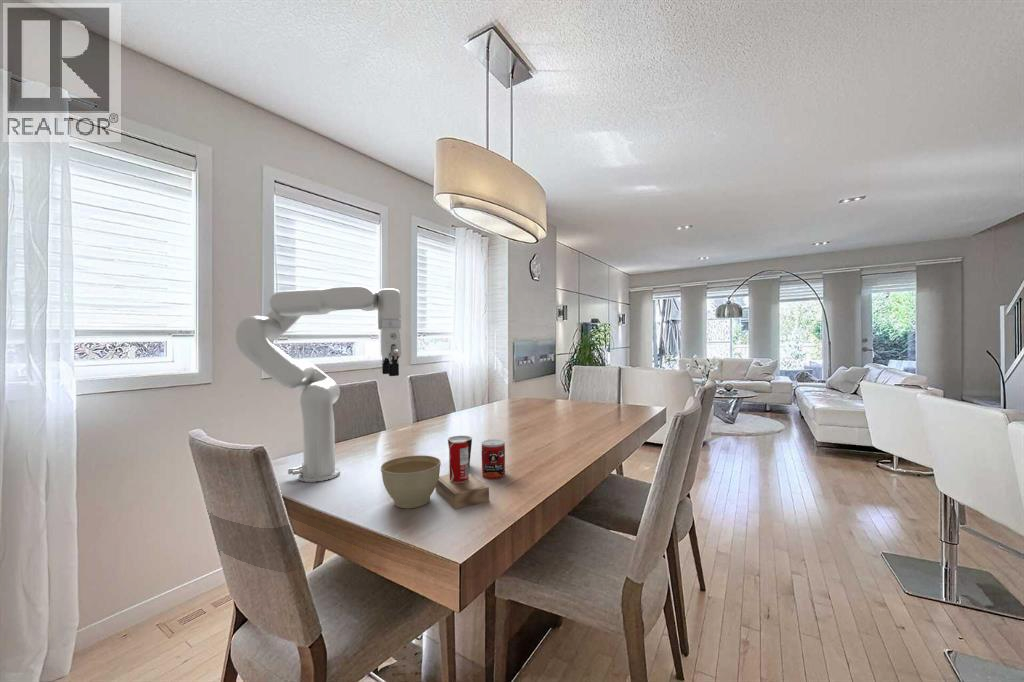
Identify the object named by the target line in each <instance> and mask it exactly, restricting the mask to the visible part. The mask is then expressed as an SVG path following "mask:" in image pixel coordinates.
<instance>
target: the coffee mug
mask: <svg viewBox="0 0 1024 682" xmlns="http://www.w3.org/2000/svg"><path fill="white" fill-rule="evenodd" d="M455 438H465V439H467V443H468V465H469V467H470V465H471V455H472V454H471V453H472V444H473V443H472V442H473V437H472V436H470V435H452V436H450V437H448V438H447V444H448V446H449V444H450V440H451V439H455Z"/></svg>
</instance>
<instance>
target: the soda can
mask: <svg viewBox="0 0 1024 682" xmlns="http://www.w3.org/2000/svg"><path fill="white" fill-rule="evenodd" d="M448 453H449V454H448V455H449V458H448V459H449V461H448V462H449V463H448V464H449V474H450V481H451V482H453V483H463V482H466V481H467V480H468V479H469V474H470V472H469V470H470V469H469V467H470V466H469V465H468V443H467V439H465V438H455V439H451V440H450V444H449V445H448Z"/></svg>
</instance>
